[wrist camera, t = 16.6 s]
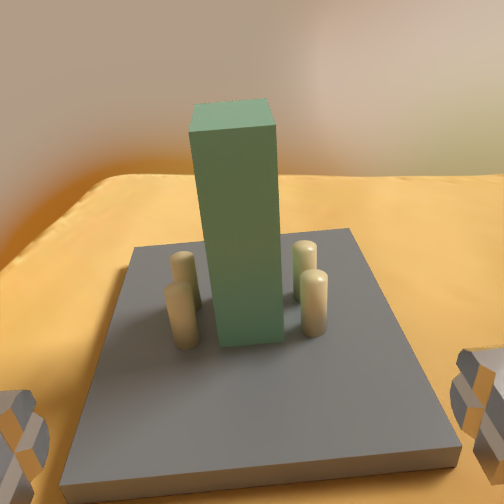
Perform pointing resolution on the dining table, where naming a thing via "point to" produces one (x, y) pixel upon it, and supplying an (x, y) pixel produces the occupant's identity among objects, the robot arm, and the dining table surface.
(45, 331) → the dining table surface
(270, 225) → the board block
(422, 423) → the pin base
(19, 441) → the robot arm
